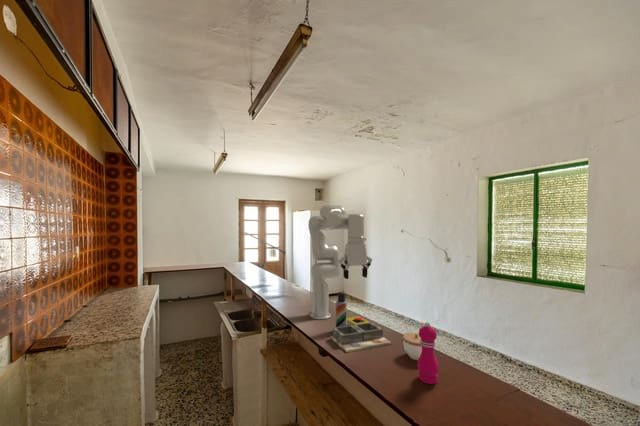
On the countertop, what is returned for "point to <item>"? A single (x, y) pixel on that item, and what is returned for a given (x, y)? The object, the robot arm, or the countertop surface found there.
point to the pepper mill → (427, 355)
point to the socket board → (359, 337)
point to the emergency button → (356, 320)
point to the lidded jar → (412, 345)
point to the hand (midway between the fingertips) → (355, 277)
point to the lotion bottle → (341, 310)
